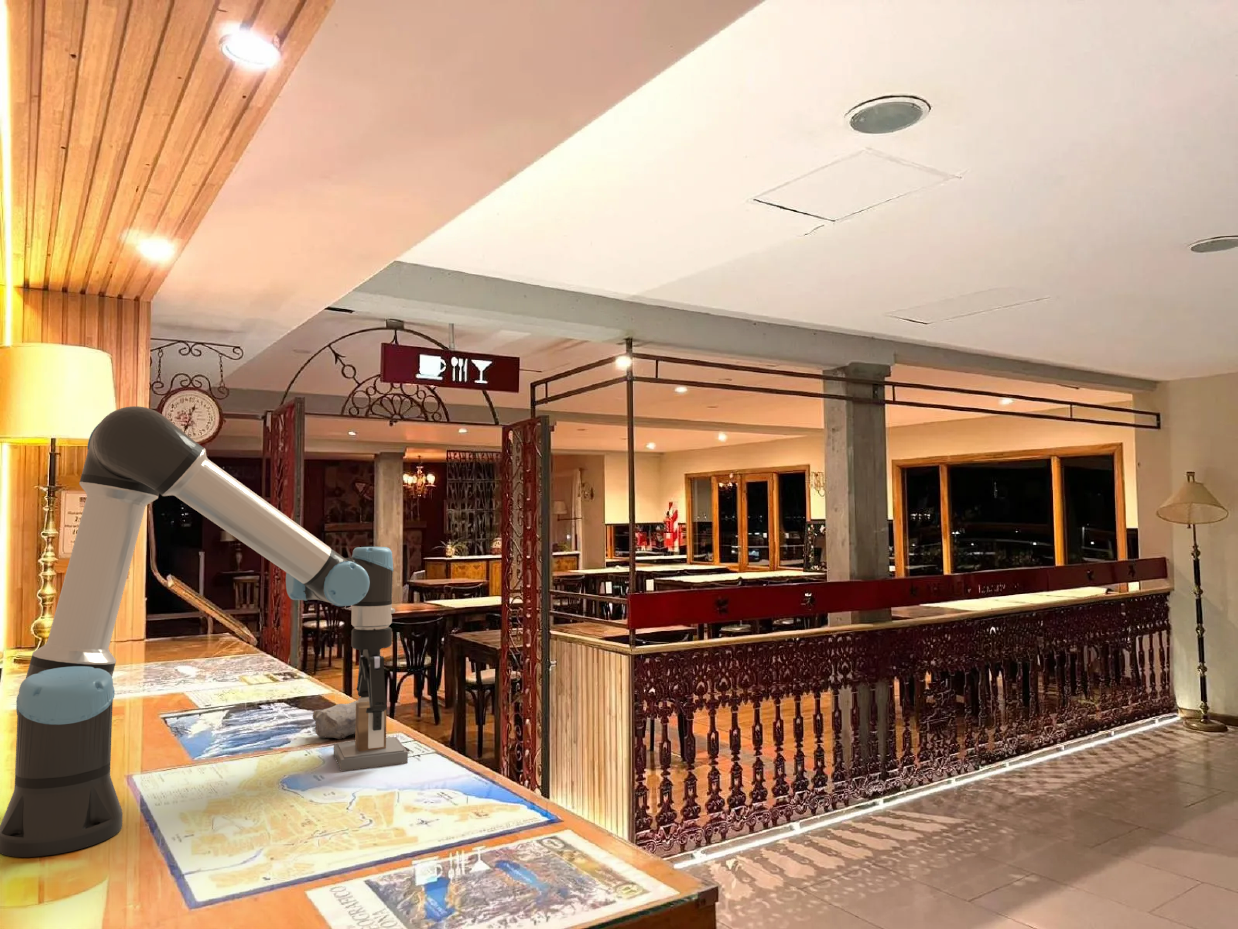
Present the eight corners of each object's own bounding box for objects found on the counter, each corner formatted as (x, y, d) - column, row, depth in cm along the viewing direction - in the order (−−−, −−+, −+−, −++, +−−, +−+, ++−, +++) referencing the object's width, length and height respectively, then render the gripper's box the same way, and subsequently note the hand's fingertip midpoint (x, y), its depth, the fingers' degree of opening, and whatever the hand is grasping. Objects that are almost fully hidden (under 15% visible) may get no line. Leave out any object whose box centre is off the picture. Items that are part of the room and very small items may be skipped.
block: (385, 748, 160) (386, 705, 160) (358, 751, 158) (359, 708, 158) (381, 742, 164) (382, 700, 165) (355, 744, 162) (355, 702, 163)
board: (407, 763, 158) (407, 750, 158) (340, 771, 153) (341, 758, 153) (396, 747, 169) (396, 735, 169) (333, 754, 164) (333, 742, 164)
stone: (309, 736, 178) (310, 703, 178) (365, 728, 184) (366, 696, 185) (319, 745, 171) (320, 711, 171) (377, 737, 178) (378, 704, 178)
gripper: (403, 633, 153) (402, 752, 152) (381, 618, 175) (379, 722, 174) (360, 636, 150) (359, 757, 148) (343, 620, 172) (341, 726, 171)
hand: (370, 738), depth 161 cm, fingers open, 13 cm apart
